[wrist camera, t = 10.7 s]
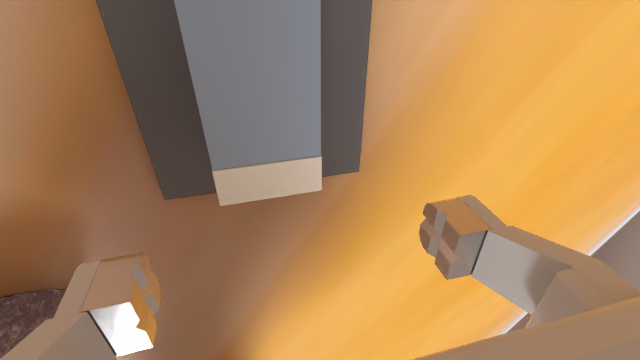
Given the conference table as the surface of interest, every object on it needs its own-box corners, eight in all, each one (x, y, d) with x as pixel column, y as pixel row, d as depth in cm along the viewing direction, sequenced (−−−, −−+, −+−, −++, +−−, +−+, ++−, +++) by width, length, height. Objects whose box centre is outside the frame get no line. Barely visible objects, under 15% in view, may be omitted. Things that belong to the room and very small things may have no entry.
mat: (355, 166, 26) (359, 171, 26) (166, 193, 23) (164, 200, 23) (372, -74, 18) (378, -75, 17) (75, -77, 15) (68, -78, 14)
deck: (179, -22, 16) (170, -14, 13) (302, -25, 17) (321, -18, 14) (219, 168, 22) (220, 206, 19) (307, 157, 24) (321, 190, 20)
